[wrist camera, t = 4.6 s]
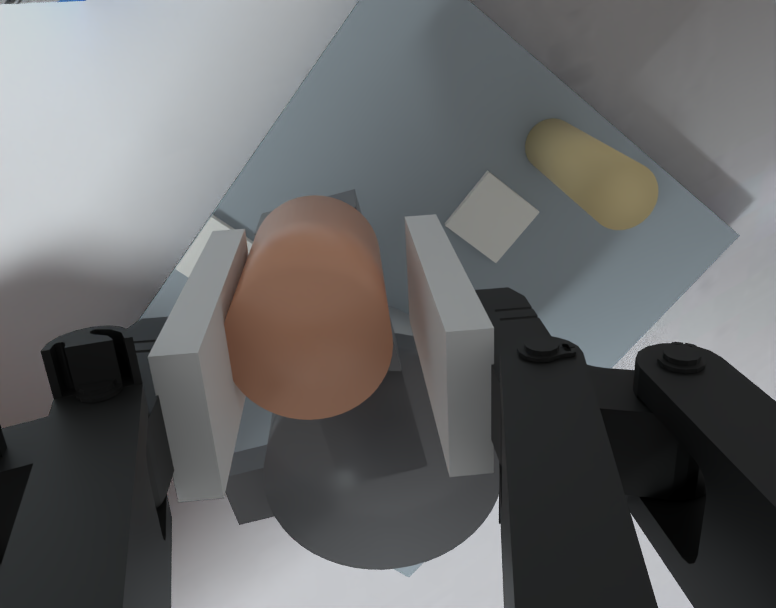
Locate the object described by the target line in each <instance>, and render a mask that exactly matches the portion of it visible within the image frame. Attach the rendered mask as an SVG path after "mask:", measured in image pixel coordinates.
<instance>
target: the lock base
mask: <svg viewBox="0 0 776 608" xmlns="http://www.w3.org/2000/svg"><path fill="white" fill-rule="evenodd" d="M353 189H355V192H356V195H357V199H358V202H359V206H360V210H361V213H362V215H363V216H364V217H365V218H366V219H367V221H368V222H369V224H370V225H371V226H372V228H373V230H374V232H375V234H376V237H377V240H378V244H379V249H380V256H381V262H382V269H383V276H384V282H385V289H386V296H387V302H388V309H389V315H390V318H391V322H392V326H393V329H394V333H399V334H405V335H411V336H413V332H412V328H411V324H410V319H409V299H408V278H407V257H406V236H405V217H407V216H420V215H433V214H436V215H437V217H438V219H439V221H440V223H441V225H442V227H443V229H444V231H445V233H446V235H447V237H448V239H449V241H450V243H451V245H452V247H453V249H454V251H455V253H456V255H457V257H458V258H459V260H460V262H461V264H462V266H463V268H464V270H465V272H466V274H467V276H468V278H469V280H470V282H471V284H472V286H473V288H474V290H480V289H492V288H505V287H509V288H511V289H512V290H514V291H516V292H518V293H520V294H522V295H524V296H525V297H526V299H527V300H528V302H529V303H530V305H531V306H532V309H534V311H535V312H536V314H537V315H538V318H540V320H541V321H542V323H543V324H544V326H545V327H546V329H547V330H548V332H549V333H550V335H551V336H554V337H558V338H561V339H565V340H568V341H570V342H572V343H574V344H576V345H577V346H579V348H580V349H581V350H582V352H583V353H584V356H585V360H586V363H587V365H591V366H595V367H602V368H612V367H613V366H614V365H615V364H616V363H617V362H618V361H619V360H620V359H621V358H622V357H623V356H624V355H625V354H626V353H627V352H628V351H629V350H630V348H631V347H632V346H633V345H634V344H635V343H636V342H637V341H638V340H639V339H640V338H641V337H642V336H643V335H644V334H645V333H646V332H647V331H648V330H649V329H650V328H651V327H652V326H653V325H654V324H655V323H656V322H657V321H658V320H659V318H660V317H661V316H662V315H663V314H664V313H665V312H666V311H667V310H668V309H669V308H670V307H671V306H672V305H673V304H674V303H675V302H676V301H677V300H678V299H679V298H680V297H681V296H682V295H683V294H684V293H685V292H686V291H687V290H688V289H689V287H690V286H691V285H692V284H693V283H694V282H695V281H696V280H697V279H698V278H699V277H700V276H701V275H702V274H703V273H704V272H705V271H706V270H707V269H708V268H709V267H710V266H711V265H712V264H713V263H714V262H715V261H716V260H717V259H718V257H719V256H720V255H721V254H722V253H723V252H724V251H725V250H726V249H727V248H728V247H729V246H730V245H731V244H732V243H733V242H734V241H735V240H736V239H737V238H738V237H739V236H740V235H739V234H737V233H736V232H735V231H734V230H733V229H732V228H730V227H729V226H728V225H727V224H726V223H725V222H724V221H722V220H721V219H720V218H719V217H718V216H717V215H716V214H714V213H713V212H712V211H711V210H710V209H709V208H707V207H706V206H705V205H704V204H703V203H702V202H701V201H699V200H698V199H697V198H696V197H695V196H694V195H692V194H691V193H690V192H689V191H688V190H687V189H686V188H684V187H683V186H682V185H681V184H680V183H679V182H678V181H676V180H675V179H674V178H673V177H672V176H671V175H669V174H668V173H667V172H666V171H665V170H664V169H663V168H661V167H660V166H659V165H658V164H657V163H656V162H654V161H653V160H652V159H651V158H650V157H649V156H648V155H646V154H645V153H644V152H643V151H642V150H641V149H640V148H638V147H637V146H636V145H635V144H634V143H633V142H631V141H630V140H629V139H628V138H627V137H626V136H625V135H623V134H622V133H621V132H620V131H619V130H618V129H616V128H615V127H614V126H613V125H612V124H611V123H610V122H608V121H607V120H606V119H605V118H604V117H603V116H602V115H600V114H599V113H598V112H597V111H596V110H595V109H593V108H592V107H591V106H590V105H589V104H588V103H587V102H585V101H584V100H583V99H582V98H581V97H580V96H578V95H577V94H576V93H575V92H574V91H573V90H572V89H570V88H569V87H568V86H567V85H566V84H565V83H564V82H562V81H561V80H560V79H559V78H558V77H557V76H555V75H554V74H553V73H552V72H551V71H550V70H549V69H547V68H546V67H545V66H544V65H543V64H542V63H540V62H539V61H538V60H537V59H536V58H535V57H534V56H532V55H531V54H530V53H529V52H528V51H527V50H526V49H524V48H523V47H522V46H521V45H520V44H519V43H517V42H516V41H515V40H514V39H513V38H512V37H511V36H509V35H508V34H507V33H506V32H505V31H504V30H502V29H501V28H500V27H499V26H498V25H497V24H496V23H494V22H493V21H492V20H491V19H490V18H489V17H488V16H486V15H485V14H484V13H483V12H482V11H481V10H479V9H478V8H477V7H476V6H475V5H474V4H473V3H471V2H470V1H469V0H359V1H358V3H357V4H356V6H355V7H354V9H353V10H352V11H351V13H350V14H349V16H348V17H347V19H346V20H345V22H344V23H343V25H342V26H341V27H340V29H339V30H338V32H337V33H336V35H335V36H334V38H333V39H332V40H331V42H330V43H329V45H328V46H327V48H326V49H325V51H324V52H323V54H322V55H321V56H320V58H319V59H318V61H317V62H316V64H315V65H314V67H313V68H312V69H311V71H310V72H309V74H308V75H307V77H306V78H305V80H304V81H303V83H302V84H301V85H300V87H299V88H298V90H297V91H296V93H295V94H294V96H293V97H292V99H291V100H290V101H289V103H288V104H287V106H286V107H285V109H284V110H283V112H282V113H281V114H280V116H279V117H278V119H277V120H276V122H275V123H274V125H273V126H272V128H271V129H270V130H269V132H268V133H267V135H266V136H265V138H264V139H263V141H262V142H261V143H260V145H259V146H258V148H257V149H256V151H255V152H254V154H253V155H252V157H251V158H250V159H249V161H248V162H247V164H246V165H245V167H244V168H243V170H242V171H241V172H240V174H239V175H238V177H237V178H236V180H235V181H234V183H233V184H232V186H231V187H230V188H229V190H228V191H227V193H226V194H225V196H224V197H223V199H222V200H221V201H220V203H219V204H218V206H217V207H216V209H215V210H214V212H213V213H212V215H211V216H210V217H209V219H208V220H207V222H206V223H205V225H204V226H203V228H202V229H201V230H200V232H199V233H198V235H197V236H196V238H195V239H194V241H193V242H192V244H191V245H190V246H189V248H188V249H187V251H186V252H185V254H184V255H183V257H182V258H181V260H180V261H179V262H178V264H177V265H176V267H175V268H174V270H173V271H172V273H171V274H170V275H169V277H168V278H167V280H166V281H165V283H164V284H163V286H162V287H161V289H160V290H159V291H158V293H157V294H156V296H155V297H154V299H153V300H152V302H151V303H150V304H149V306H148V307H147V309H146V310H145V312H144V313H143V315H142V316H141V318H140V319H139V320H141V319H144V318H157V317H169V315H170V313H171V311H172V309H173V307H174V305H175V303H176V301H177V299H178V297H179V295H180V293H181V291H182V289H183V288H184V286H185V284H186V282H187V280H188V278H189V276H190V274H191V272H192V270H193V268H194V266H195V264H196V262H197V260H198V259H199V257H200V255H201V253H202V251H203V249H204V247H205V245H206V243H207V241H208V239H209V237H210V235H211V233H212V231H221V230H234V229H245V233H246V240H247V248H248V255H249V252H250V249H251V247H252V244H253V241H254V238H255V234H254V233H255V231H256V228H257V225H258V223H259V220H260V217H261V214H262V213H266V212H269V211H273V210H274V209H275V208H277V207H278V206H280V205H281V204H283V203H285V202H287V201H289V200H292V199H295V198H298V197H303V196H312V195H318V196H330V195H334V194H338V193H342V192H346V191H349V190H353ZM139 320H138V321H139ZM271 419H272V412H269V411H267V410H265V409H264V408H262V407H260V406H258V405H257V404H255V403H254V402H253V401H251V400H250V399H249V398H248V397H247V396H246V398H245V402H244V407H243V412H242V416H241V421H240V426H239V430H238V435H237V440H236V444H235V449H234V452H239V451H243V450H247V449H251V448H255V447H259V446H263V445H267V443H268V437H269V431H270V425H271ZM422 564H423V563H420V564H416V565H413V566H408V567H403V568H396V569H395V570H396V571H398V572H400V573H402V574H404V575H405V576H407V577H410V576H411V575H412V574H413V573H414V572H415V571H416V570H417V569H418V568H419V567H420V566H421V565H422Z"/></svg>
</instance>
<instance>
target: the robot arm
mask: <svg viewBox="0 0 776 608" xmlns="http://www.w3.org/2000/svg"><path fill="white" fill-rule="evenodd" d="M405 236H406V257H407V278H408V299H409V319H410V324H411V328H412V332H413V336H414V340H415V344H416V347H417V351H418V355H419V359H420V363H421V367H422V371H423V375H424V379H425V383H426V387H427V391H428V394H429V398H430V402H431V406H432V410H433V414H434V418H435V422H436V426H437V430H438V434H439V438H440V441H441V445H442V449H443V453H444V457H445V461H446V465H447V469H448V473H449V477H457V476H467V475H478V474H489V473H494V449H495V451H496V454H497V457H498V459H499V524H501V544H502V569H503V594H504V608H658V606H657V603H656V599H655V596H654V592H653V589H652V585H651V582H650V579H649V575H648V572H647V568H646V565H645V562H644V558H643V555H642V551H641V548H640V544H639V541H638V538H637V534H636V531H635V527H634V524H633V521H632V517H631V514H632V516H633V517H634V519H635V520H636V522H637V523H638V525H639V526H640V528H641V529H642V531H643V532H644V534H645V535H646V537H647V538H648V540H649V541H650V543H651V544H652V546H653V547H654V549H655V550H656V552H657V553H658V554H659V556H660V557H661V559H662V560H663V562H664V563H665V565H666V566H667V568H668V569H669V571H670V572H671V574H672V575H673V577H674V578H675V580H676V581H677V583H678V584H679V586H680V587H681V589H682V590H683V592H684V593H685V595H686V596H687V598H688V599H689V601H690V602H691V604H692V605H693V607H694V608H776V401H775V400H773V399H772V398H771V397H770V396H768V395H767V394H766V393H765V392H764V391H762V390H761V389H760V388H759V387H757V386H756V385H755V384H754V383H753V382H751V381H750V380H749V379H748V378H746V377H745V376H744V375H743V374H741V373H740V372H739V371H738V370H737V369H735V368H734V367H733V366H732V365H730V364H729V363H728V362H727V361H726V360H724V359H723V358H722V357H720V356H718V355H717V354H715V353H713V352H711V351H709V350H706V349H703V348H700V347H697V346H696V345H693V344H688V343H685V344H683V343H681V342H672V343H663V344H656V345H652V346H647V347H645V348H644V349H642V350H641V351H639V352H638V354H637V356H636V360H635V370H624V369H611V368H602V367H595V366H591V365H587V363H586V360H585V356H584V353H583V352H582V350H581V349H580V348H579V346H577V345H576V344H574V343H572V342H570V341H568V340H565V339H561V338H558V337H554V336H551V335H550V333H549V332H548V330H547V329H546V327H545V326H544V324H543V323H542V321H541V320H540V318H538V315H537V314H536V312H535V311H534V309H532V306H531V305H530V303H529V302H528V300H527V299H526V297H525V296H524V295H522V294H520V293H518V292H516V291H514V290H512V289H511V288H509V287H505V288H492V289H480V290H474V288H473V286H472V284H471V282H470V280H469V278H468V276H467V274H466V272H465V270H464V268H463V266H462V264H461V262H460V260H459V258H458V257H457V255H456V253H455V251H454V249H453V247H452V245H451V243H450V241H449V239H448V237H447V235H446V233H445V231H444V229H443V227H442V225H441V223H440V221H439V219H438V217H437V215H436V214H433V215H420V216H407V217H405ZM247 258H248V248H247V240H246V233H245V229H234V230H221V231H212V233H211V235H210V237H209V239H208V241H207V243H206V245H205V247H204V249H203V251H202V253H201V255H200V257H199V259H198V260H197V262H196V264H195V266H194V268H193V270H192V272H191V274H190V276H189V278H188V280H187V282H186V284H185V286H184V288H183V289H182V291H181V293H180V295H179V297H178V299H177V301H176V303H175V305H174V307H173V309H172V311H171V313H170V315H169V317H157V318H144V319H141V320H139V321H138V322H136V323H135V324H133V325H132V326H130V327H129V328H127V329H125V328H123V327H116V326H98V327H90V328H85V329H81V330H76V331H73V332H70V333H67V334H65V335H62V336H59V337H58V338H56V339H54V340H53V341H51V342H49V343H48V344H46V346H45V347H44V348H43V349H42V350H41V354H42V358H43V361H44V365H45V369H46V372H47V376H48V380H49V383H50V387H51V391H52V394H53V398H54V400H53V403H52V406H51V410H50V413H49V416H48V417H44V418H41V419H38V420H34V421H30V422H26V423H22V424H18V425H14V426H10V427H6V428H2V429H1V426H0V608H171V552H172V516H171V512H170V507H169V502H168V498H167V491H168V488H169V485H170V482H171V479H172V476H173V480H174V484H175V489H176V494H177V499H178V502H189V501H199V500H210V499H221V498H224V496H225V491H226V487H227V482H228V477H229V472H230V468H231V463H232V458H233V454H234V449H235V444H236V440H237V435H238V430H239V426H240V421H241V416H242V412H243V407H244V402H245V398H246V396H245V395H244V394H243V393H242V392H241V390H240V389H239V388H238V387H237V386H236V384H235V383H234V381H233V377H232V370H231V364H230V358H229V352H228V346H227V340H226V333H225V327H224V322H225V319H226V316H227V313H228V310H229V307H230V305H231V302H232V299H233V296H234V294H235V291H236V288H237V285H238V283H239V280H240V277H241V274H242V271H243V269H244V266H245V263H246V260H247ZM630 513H631V514H630Z"/></svg>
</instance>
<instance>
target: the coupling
mask: <svg viewBox="0 0 776 608" xmlns="http://www.w3.org/2000/svg"><path fill="white" fill-rule="evenodd" d="M254 234H255V238H254V241H253V244H252V247H251V249H250V252H249V255H248V258H247V260H246V263H245V266H244V269H243V271H242V274H241V277H240V280H239V283H238V285H237V288H236V291H235V294H234V296H233V299H232V302H231V305H230V307H229V310H228V313H227V316H226V319H225V322H224V327H225V333H226V340H227V346H228V352H229V358H230V364H231V370H232V377H233V381H234V383H235V384H236V386H237V387H238V388H239V389H240V390H241V392H242V393H243V394H244V395H245V396H247V397H248V398H249V399H250V400H251V401H253V402H254V403H255V404H257V405H258V406H260V407H262V408H264V409H265V410H267V411H269V412H272V419H271V425H270V431H269V437H268V443H267V445H263V446H259V447H255V448H251V449H247V450H243V451H239V452H234V454H233V458H232V463H231V468H230V472H229V477H228V482H227V487H226V491H225V493H226V495H227V497H228V500H229V502H230V504H231V507H232V509H233V511H234V514H235V516H236V518H237V521H238V523H239V525H241V524H245V523H249V522H253V521H257V520H261V519H265V518H269V517H273V516H275V518H276V519H277V520H278V522H279V523H280V525H281V526H282V528H283V529H284V530H285V531H286V532H287V533H288V534H289V535H290V536H291V537H292V538H293V539H294V540H295V541H296V542H298V543H299V544H300V545H301V546H303V547H304V548H306V549H307V550H309V551H310V552H312V553H314V554H316V555H318V556H320V557H322V558H324V559H326V560H329V561H332V562H335V563H338V564H341V565H345V566H349V567H354V568H362V569H379V570H384V569H396V568H403V567H408V566H413V565H416V564H420V563H423V562H427V561H429V560H432V559H434V558H436V557H439V556H441V555H443V554H445V553H447V552H448V551H450V550H452V549H454V548H455V547H457V546H458V545H459V544H461V543H462V542H464V541H465V540H466V539H467V538H468V537H470V536H471V535H472V534H473V533H474V532H475V531H476V530H477V529H478V528H479V527H480V526H481V524H482V523H483V522H484V521H485V519H486V518H487V516H488V515H489V514H490V512H491V511H492V509H493V507H494V505H495V503H496V501H497V498H498V495H499V459H498V457H497V454H496V451H495V449H494V473H489V474H478V475H467V476H457V477H449V473H448V469H447V465H446V461H445V457H444V453H443V449H442V445H441V441H440V438H439V434H438V430H437V426H436V422H435V418H434V414H433V410H432V406H431V402H430V398H429V394H428V391H427V387H426V383H425V379H424V375H423V371H422V367H421V363H420V359H419V355H418V351H417V347H416V344H415V340H414V336H411V335H405V334H399V333H394V329H393V326H392V322H391V318H390V315H389V309H388V302H387V296H386V289H385V282H384V276H383V269H382V262H381V256H380V249H379V244H378V240H377V237H376V234H375V232H374V230H373V228H372V226H371V225H370V224H369V222H368V221H367V219H366V218H365V217H364V216H363V215H362V213H361V210H360V206H359V202H358V199H357V195H356V192H355V189H353V190H349V191H346V192H342V193H338V194H334V195H330V196H318V195H312V196H303V197H298V198H295V199H292V200H289V201H287V202H285V203H283V204H281V205H280V206H278V207H277V208H275V209H274V210H273V211H269V212H266V213H262V214H261V217H260V220H259V223H258V225H257V228H256V231H255V233H254Z"/></svg>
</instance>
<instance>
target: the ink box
mask: <svg viewBox="0 0 776 608" xmlns="http://www.w3.org/2000/svg"><path fill="white" fill-rule="evenodd" d="M68 1H86V0H0V4H21V3H40V2H68Z"/></svg>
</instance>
